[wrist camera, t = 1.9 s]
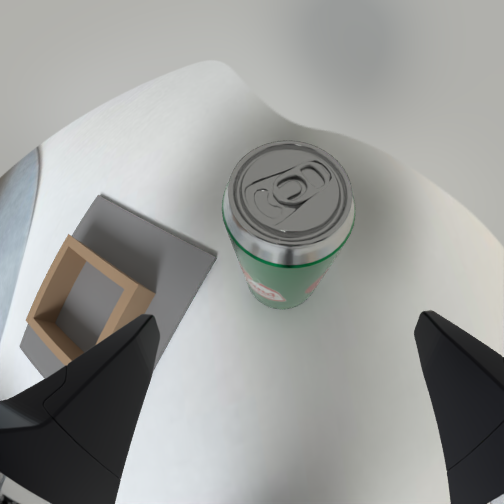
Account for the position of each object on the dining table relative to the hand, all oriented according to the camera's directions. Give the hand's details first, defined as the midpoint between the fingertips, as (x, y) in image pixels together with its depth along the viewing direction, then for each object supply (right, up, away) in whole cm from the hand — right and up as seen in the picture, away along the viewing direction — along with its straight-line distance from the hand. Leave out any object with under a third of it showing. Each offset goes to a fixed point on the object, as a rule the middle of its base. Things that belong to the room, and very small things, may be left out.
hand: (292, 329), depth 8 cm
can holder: (-14, -3, +12) cm, 19 cm away
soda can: (+1, +1, +12) cm, 12 cm away
